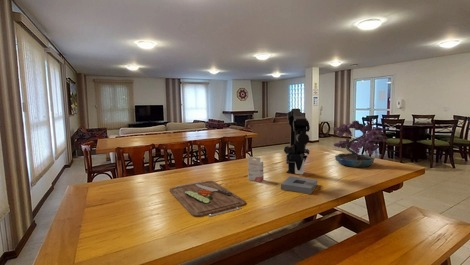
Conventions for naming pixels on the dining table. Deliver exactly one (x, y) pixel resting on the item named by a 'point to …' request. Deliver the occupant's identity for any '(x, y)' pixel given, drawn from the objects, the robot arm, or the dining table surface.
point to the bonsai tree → (358, 144)
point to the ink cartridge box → (255, 169)
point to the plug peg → (300, 169)
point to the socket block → (299, 184)
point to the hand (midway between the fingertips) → (299, 169)
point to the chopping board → (206, 198)
